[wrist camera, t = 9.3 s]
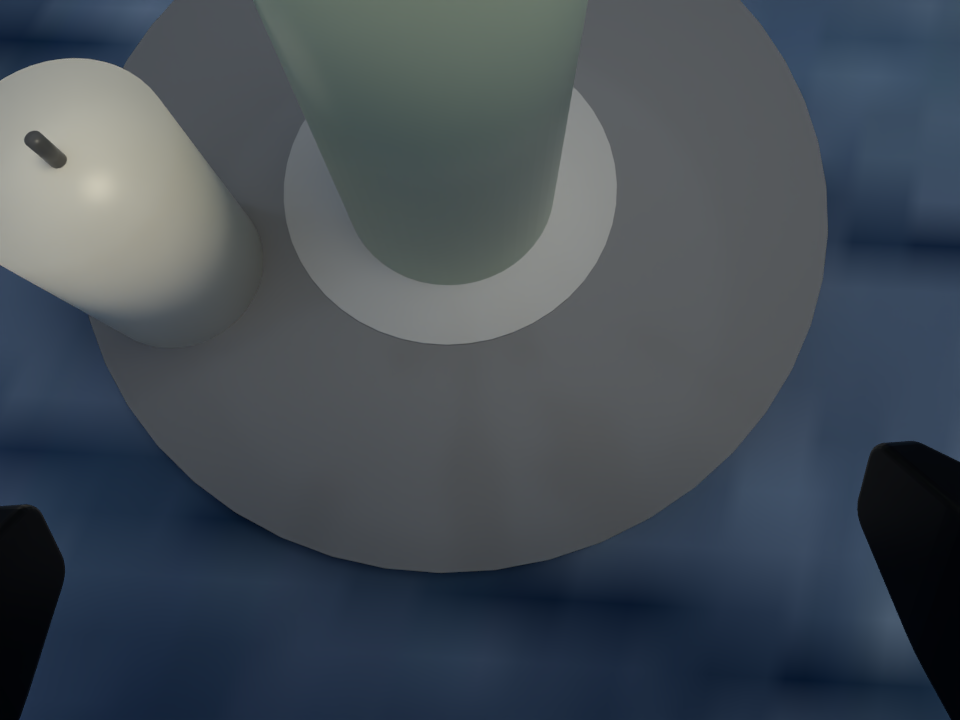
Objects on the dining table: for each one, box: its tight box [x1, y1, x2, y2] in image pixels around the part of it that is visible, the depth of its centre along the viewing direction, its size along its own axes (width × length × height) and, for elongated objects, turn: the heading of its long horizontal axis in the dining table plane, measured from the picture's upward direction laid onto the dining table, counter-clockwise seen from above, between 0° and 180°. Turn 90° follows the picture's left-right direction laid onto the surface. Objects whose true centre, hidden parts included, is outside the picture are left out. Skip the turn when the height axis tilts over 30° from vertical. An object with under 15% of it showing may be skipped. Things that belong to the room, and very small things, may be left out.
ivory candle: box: [0, 58, 263, 348], centre depth 15 cm, size 4×4×6 cm
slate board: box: [89, 0, 828, 573], centre depth 18 cm, size 18×18×1 cm
